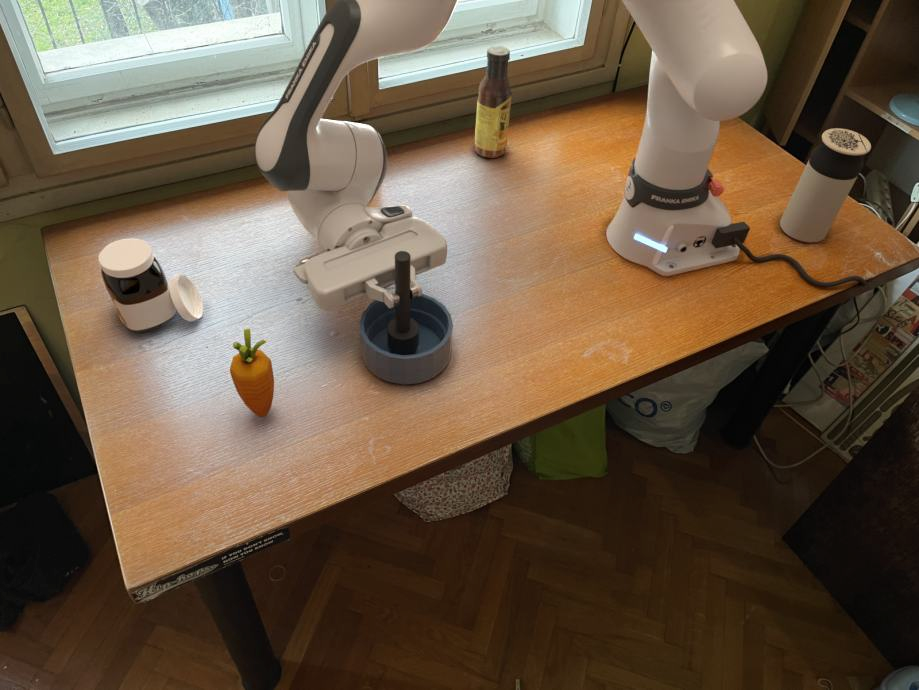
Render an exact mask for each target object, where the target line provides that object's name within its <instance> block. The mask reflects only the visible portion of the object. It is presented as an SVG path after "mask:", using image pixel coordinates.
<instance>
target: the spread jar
mask: <svg viewBox="0 0 919 690" xmlns="http://www.w3.org/2000/svg"><path fill="white" fill-rule="evenodd" d="M98 262H99V264H100V267H101V268H100V274H101V278H102V281H103V284H104V286H105V289H106V291H107V293H108V295H109V298H110V300H111V302H112V305H113V307H114V310H115V312H116V314H117V316H118V318H119V321H121V324H123V325H124V327H125V328H127V329H128V330H130V331H132V332H136V333H143V332H148V331H153V330H156V329H158V328H161V327H162V326H164V325H166V324H167V323H169V322H170V321H171V320H172V319H173V318H174V317H175V316H176V314H177V312H178V314H179V315H180V316H181V318H182V319H184V320H185V321H187V322H194V321H197V320H200V319H201V318H202V317H203V316H204V315H203V314H204V305H203V301H202V298H201V295H200V292H199V290H198V289H197V287H196V285H195V284H194V282H193V281H192V280H191V279H190V278H189V277H188V276H187V275H186V274H179V275H176V276H173V277H171V278H170V279H169V282H168V279H167V278H166V274H165V272H164V269H163V268H162V265H161V264H160V262H159V261H158V259H157V258H156V257H155V255H154V251H153V249H152V247H151V245H150V244H149V242H147V241H146V240H143V239H139V238H135V237H133V238H131V237H129V238H121V239H118V240H114V241H113V242H111V243H109V244H107V245H106V246H104V247H103V248H102V250H101V251H100V252H99V254H98Z"/></svg>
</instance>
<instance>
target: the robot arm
mask: <svg viewBox="0 0 919 690" xmlns="http://www.w3.org/2000/svg"><path fill="white" fill-rule="evenodd" d="M621 1H622V4H623V5H624V6H625V7H626V10H627V11H628V13H629V14H630V16H631V17H632V19H633V21H634V22H635V24H636V25H637V27H638V29H639V31H640V33H641V34H642V35H643V37H644V39H645V40H646V42H647V43H648V45H649V47H650V48H651V51H652V52H651V58H650V68H649V76H648V78H649V79H648V87H647V102H646V111H645V118H644V122H643V128H642V131H641V136H640V140H639V143H638V146H637V147H638V148H637V151H636V156H635V157H634V158H633V159H632V161H631V164H630V168H629V171H628V174H627V178H626V181H625V185H624V191H623V194H624V195H623V198H622V200H621V202H620V205H619V207H618V209H617V211H616V213H615V215H614V216H613V218H612V220H611V222H610V223H609V224H608V226H607V228H606V231H605V232H606V233H605V236H606V240H607V242H608V244H609V246H610V247H611V248H612V249H613V251H614V252H615V253H616V254H618V255H619V256H620V257H622V258H624V259H626V260H627V261H630V262H631V263H634V264H637V265H640V266H643V267H646V268H648V269H650V270H651V271H653V272H654V273H656V274H658V275H659V276H662V277H670V276H674V275H678V274H684V273H688V272H692V271H696V270H699V269H700V270H701V269H706V268H710V267H714V266H717V265H723V264H726V263H731V262H734V261H737V260H738V259H739V256H740V250H741V251H742V253H744V255H746V257H747V258H748V259H749V260H750V261H752V262H754V263H764V262H765V263H766V262H768V261H773V260H783V261H785V262H788V263H789V264H791V265H792V266H793V267H794V268H795V269H796V270H797V272H798V273H799V275H800V276H801V277H802V278H803V279H804V280H805V281H806V282H808V283H809V284H810V285H813V286H815V287H819V288H833V287H839V286H842V285H844V284H847V283H850V282H858V283H859V284H860V285H862V286H867V285H868V283H867V281H866V280H865V279H864V278H863V277H862V276H860V275H850V276H846V277H843V278H840V279H837V280H834V281H833V280H832V281H827V282H826V281H819V280H817V279H814V278H813V277H811V276H810V275H809V274H808V273H807V272H806V270H805V269H804V267H802V265H801V264H800V263H799V262H798V260H796V259H794V258H793V257H791V256H789V255H786V254H782V253H774V254H769V255H765V256H756V255H754V254H753V253H752V252H751V250H750V249H749V248H748V247H747V246H745V245H744V243H745V241H746V239H747V237H748V235H749V232H750V230H751V227H750V226H749V225H748V224H747V223H746V222H745V221H741V222H735V223H733V220H732V216H731V213H730V211H729V209H728V208H727V206H726V204H725V203H724V202H723V201H722V199H721V198H720V196H722V195H723V194H724V192H725V187H724V185H722V183H721V181H720V180H719V179H714V175H713V173H712V172H711V171H710V169H709V165H710V163H711V160H712V157H713V154H714V151H715V148H716V146H717V142H718V140H719V136H720V128H721V124H720V123H721V122H725V121H730V120H733V119H736V118H739V117H741V116H742V115H745V113H747V112H748V111H750V110H751V109H752V108H753V107H754V106H755V105H756V104H757V103H758V102H759V100H760V99H761V97H762V96H763V94H764V92H765V90H766V88H767V84H768V69H767V65H766V61H765V59H764V54H763V52H762V49H761V47H760V45H759V43H758V41H757V39H756V37H755V35H754V33H753V32H752V29H751V28H750V26H749V24H748V23H747V21H746V19H745V18H744V16H743V14H742V12H741V11H740V8H739V7H738V5H737V3H736V2H735V0H621ZM458 2H459V0H337V1H335V2H334V3H333V4H332V5H331V6H330V7H329V9H327V11H326V13H325V14H324V16H323V18H321V21H320V23H319V25H318V26H317V29H316V30H315V31H314V33H313V36H312V37H311V40H310V41H309V43H308V45H307V47H306V49H305V51H304V53H303V55H302V56H301V59H300V60H299V62H298V64H297V66H296V68H295V70H294V72H293V74H292V75H291V78H290V80H289V82H288V84H287V85H286V87H285V90H284V91H283V94H282V96H281V98H280V99H279V101H278V103H277V105H276V106H275V108H274V109H273V110H272V111H271V113H270V114H269V116H268V117H267V118H266V119H265V121H264V122H263V124H262V125H261V126H260V128H259V130H258V132H257V134H256V138H255V141H254V150H253V151H254V152H253V153H254V160H255V165H256V167H257V169H258V170H259V172H260V173H261V174H262V176H263V177H264V178H265V180H267V182H268V183H269V184H270V185H272V186H273V187H274V188H275V189H277V190H278V191H280V192H286V195H287V200H288V202H289V205H290V207H291V209H292V211H293V213H294V215H295V216H296V218H297V219H298V221H299V223H300V224H301V225H302V226H303V228H304V229H305V230H306V231H307V233H309V234H310V235H311V236H312V237H314V238H315V239H316V240H317V243H318V245H319V247H320V248H321V249H322V251H320V252H318V253H316V254H314V255H312V256H309V257H308V256H307V257H304V258H302V259H300V260H298V263H297V264H295V266H294V268H293V274H294V275H295V277H296V278H297V280H298V281H299V282H300V283H302V284H304V285H305V284H306V287H307V290H308V292H309V295H310V296H311V298H312V300H313V302H314V303H315V305H316V307H317V308H318V309H320V310H323V311H332V310H334V309H336V308H338V307H341V306H344V305H346V304H349V303H351V302H353V301H356V300H359V299H361V298H364V297H366V296H367V297H369V299H371V300H374V301H375V300H377V301H381V302H384V303H385V304H386V305H387V306H388V308H390V309H391V308H393V307H395V306H397V305H399V304H400V302H399V301H400V297H399V295H398V294H397V293H396V292H395V288H391V289H386V288H388V287H390V286H393V285H395V254H396V253H397V252H399V251H406V252H408V253H409V254H410V256H411V263H410V299H414V298H417V297H419V296H421V295H422V294H423V293H422V292H423V289H422V286H421V285H420V283H419V282H418V281H417V280H416V276H418V275H421V274H422V273H425V272H428V271H430V270H432V269H433V270H434V269H435V268H438V267H440V266H443V265H445V264H446V262H447V257H448V243H447V240H446V238H445V237H444V236H443V235H442V234H441V233H440V232H439V231H438V230H437V229H436V228H435V227H434V226H432V225H431V224H430V223H429V222H427V221H426V220H424V219H423V218H420V217H416V216H413V212H412V209H411V208H410V207H409V206H408V205H405V204H400V205H392V206H391V205H390V206H368V205H369V204H371V202H372V201H373V199H374V198H375V196H376V194H377V193H378V191H379V189H380V188H381V186H382V184H383V182H384V180H385V177H386V174H387V171H388V167H389V166H388V165H389V157H388V152H387V149H386V145H385V142H384V141H383V138H382V136H381V134H380V133H379V132H378V131H377V130H376V129H375V128H374V127H373V126H372V125H370V124H364V123H359V122H354V121H353V122H352V121H346V120H333V119H326V118H325V119H324V118H323V116H324V114H325V112H326V111H327V108H328V107H329V104H330V103H331V102H332V99H333V98H334V96H335V94H336V92H337V90H338V88H339V87H340V85H341V83H342V81H343V80H344V78H345V77H346V76H347V75H348V74H349V73H350V72H351V71H353V70H354V69H355V68H357V67H358V66H361V65H363V64H365V63H368V62H370V61H373V60H374V61H375V60H377V59H382V58H385V57H389V56H395V55H403V54H409V53H413V52H416V51H418V50H421V49H423V48H425V47H428V46H429V45H430V44H431V45H432V43H434V42H435V41H436V40H437V39H438V38H439V37H440V36H441V34H442V33H443V31H444V30H445V29H446V27H447V25H448V24H449V22H450V21H451V18H452V16H453V14H454V12H455V9H456V6H457V4H458Z"/></svg>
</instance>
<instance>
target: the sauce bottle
mask: <svg viewBox="0 0 919 690" xmlns="http://www.w3.org/2000/svg"><path fill="white" fill-rule="evenodd" d="M510 55H511V51H510V49H509V48H507V47H505V46H502V45H492V46H490V47H488V48H487V51H486V59H487V60H486V61H487V62H486V69H485V73H486V74H485V76H484V77H483V78H482V79H481V81H480V83H479V85H478V97H477V102H476V115H475V128H474V129H475V130H474V151H475V152H476V153H477V155H479V156H481V157H482V158H483V157H484V158H488V159H489V158H490V159H495V158H499V157H501V156H502V155H504V154H505V152H506V146H507V142H508V134H509V125H510V114H511V106H512V105H511V104H512V96H513V92H512V89H511V85H510V80H509V77H508V69H509V68H508V67H509V61H510V57H511V56H510Z"/></svg>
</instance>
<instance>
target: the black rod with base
mask: <svg viewBox="0 0 919 690" xmlns="http://www.w3.org/2000/svg"><path fill="white" fill-rule="evenodd" d="M410 263H411V256H410V254H409V253H408V252H406V251H399V252H397V253H396V254H395V284H394V290H395V292H396V293H397V294H398V295H399V297H400V301H399V302H400V304H399V305H397V306H395V307H396V318H395V319H393V320H391V321H390V322H389V324H388V326H387V337H388V347H389V349H390V350H391V351H392V352H394V353H396V354H401V355H406V354H410V353H412V352H414V351H415V350H416V349H417V348H418V345H419V325H418V323H417V322H416V321H415V320H414V319H412V318H410Z"/></svg>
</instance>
